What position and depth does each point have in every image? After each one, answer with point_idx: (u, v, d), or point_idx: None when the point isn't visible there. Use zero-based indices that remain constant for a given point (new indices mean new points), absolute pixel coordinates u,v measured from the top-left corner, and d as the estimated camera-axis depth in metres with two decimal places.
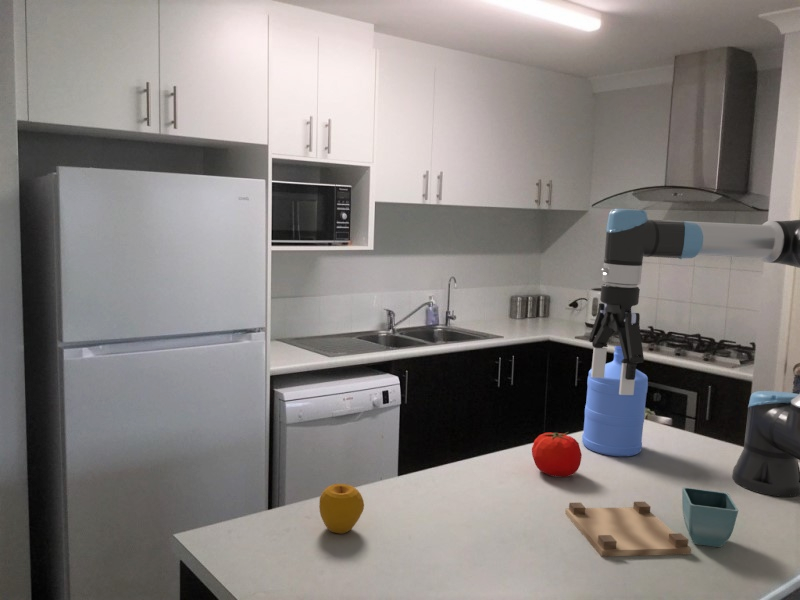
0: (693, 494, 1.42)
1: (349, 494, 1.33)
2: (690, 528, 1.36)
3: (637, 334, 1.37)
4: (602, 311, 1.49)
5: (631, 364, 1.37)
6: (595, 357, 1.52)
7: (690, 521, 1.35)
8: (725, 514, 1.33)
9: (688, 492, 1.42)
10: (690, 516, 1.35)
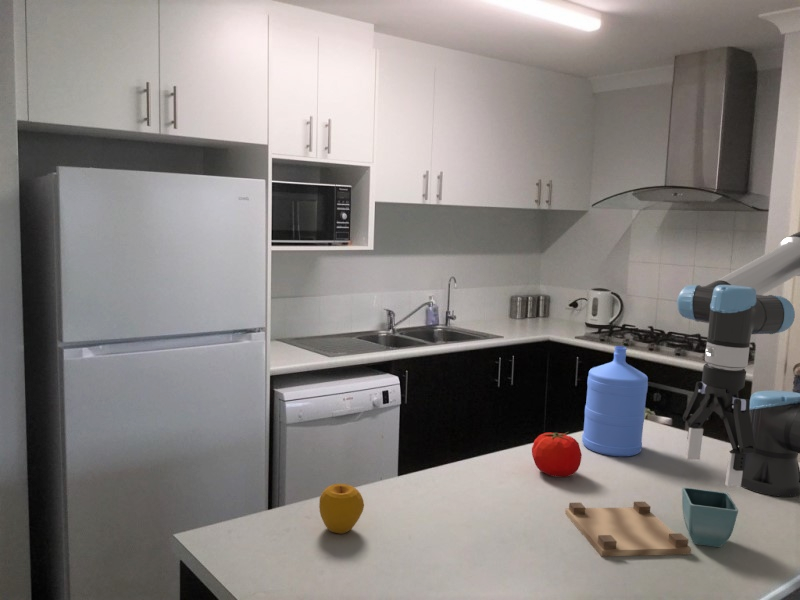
0: (693, 494, 1.42)
1: (349, 494, 1.33)
2: (690, 528, 1.36)
3: (747, 422, 1.28)
4: (700, 390, 1.40)
5: (741, 454, 1.28)
6: (691, 438, 1.42)
7: (690, 521, 1.35)
8: (725, 514, 1.33)
9: (688, 492, 1.42)
10: (690, 516, 1.35)
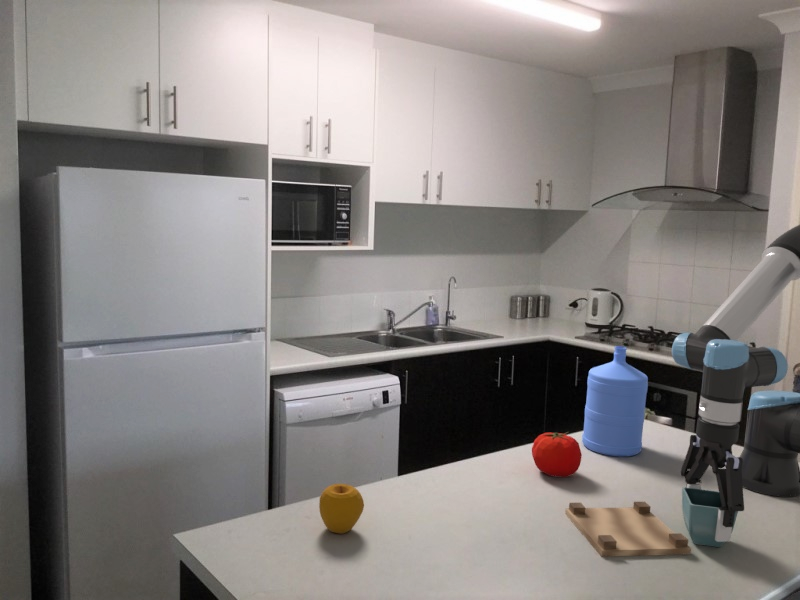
0: (693, 494, 1.42)
1: (349, 494, 1.33)
2: (690, 528, 1.36)
3: (739, 481, 1.30)
4: (695, 443, 1.41)
5: (730, 512, 1.31)
6: None
7: (690, 521, 1.35)
8: None
9: (688, 492, 1.42)
10: (690, 516, 1.35)
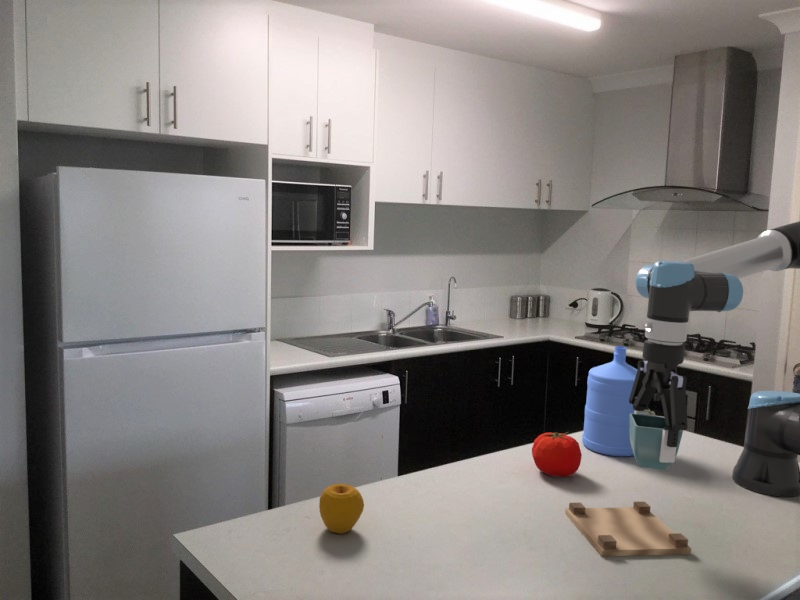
0: (640, 420, 1.41)
1: (349, 494, 1.33)
2: (635, 450, 1.35)
3: (682, 400, 1.29)
4: (642, 369, 1.40)
5: (673, 431, 1.30)
6: None
7: (635, 443, 1.34)
8: None
9: (635, 418, 1.41)
10: (635, 438, 1.34)
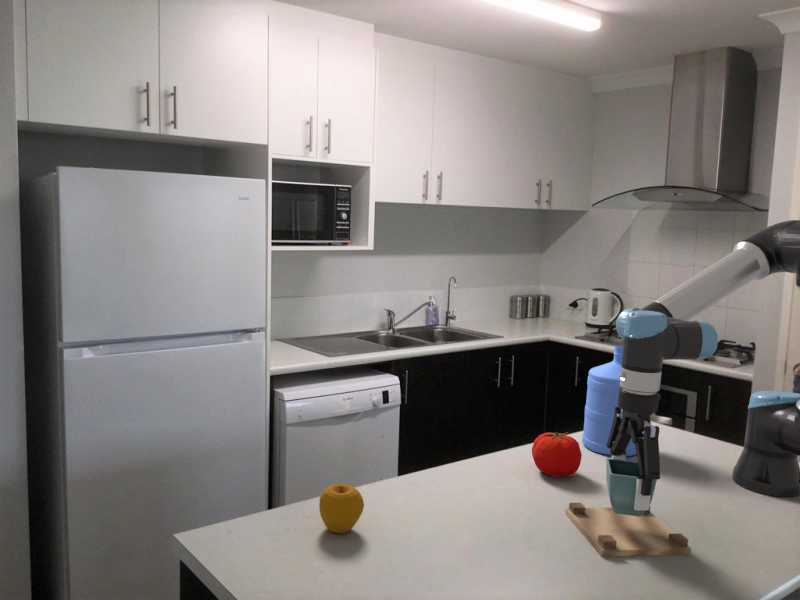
0: (617, 465, 1.43)
1: (349, 494, 1.33)
2: (610, 497, 1.37)
3: (655, 449, 1.31)
4: (619, 415, 1.42)
5: (647, 480, 1.32)
6: None
7: (610, 490, 1.36)
8: None
9: (612, 463, 1.43)
10: (610, 485, 1.36)
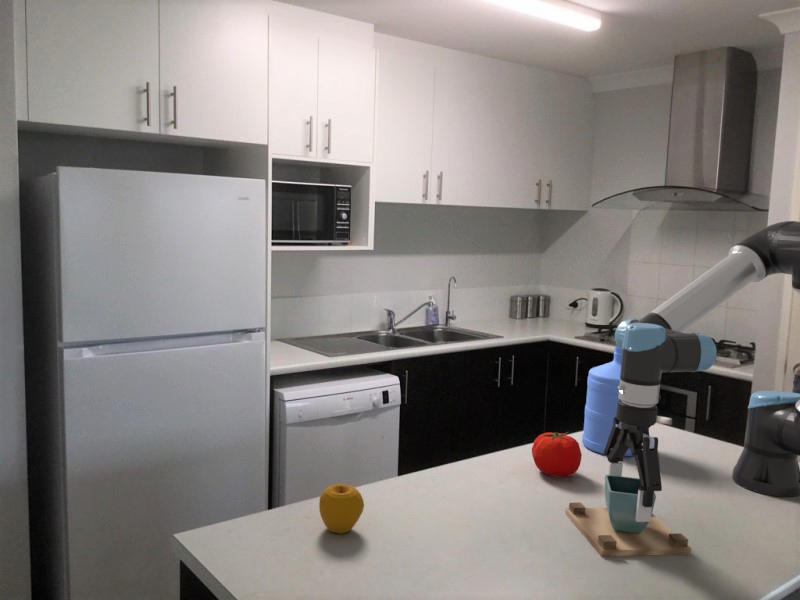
0: (615, 481, 1.44)
1: (349, 494, 1.33)
2: (610, 515, 1.37)
3: (655, 460, 1.31)
4: (617, 425, 1.43)
5: (648, 492, 1.31)
6: (611, 473, 1.45)
7: (610, 508, 1.37)
8: None
9: (610, 479, 1.44)
10: (609, 503, 1.36)
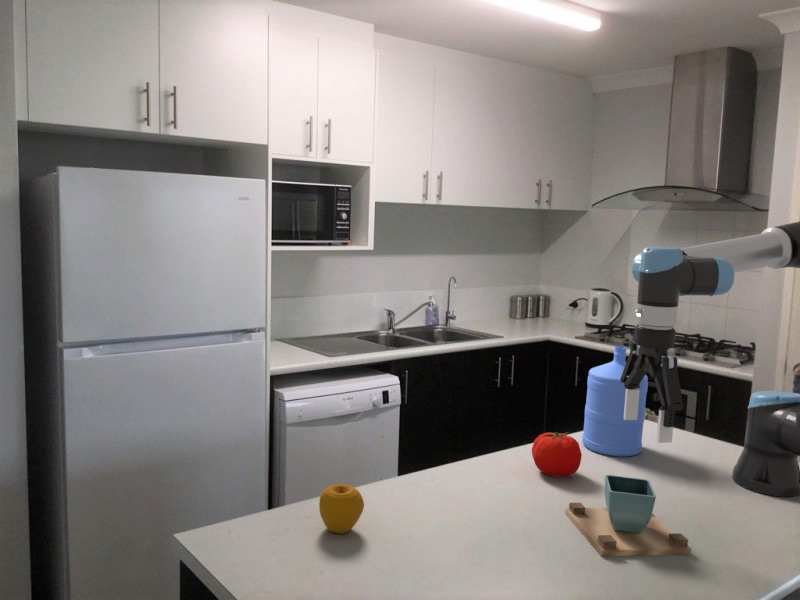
0: (615, 481, 1.44)
1: (349, 494, 1.33)
2: (610, 515, 1.37)
3: (675, 380, 1.30)
4: (635, 352, 1.43)
5: (669, 411, 1.31)
6: (628, 399, 1.45)
7: (610, 508, 1.37)
8: (643, 500, 1.35)
9: (610, 479, 1.44)
10: (610, 503, 1.36)
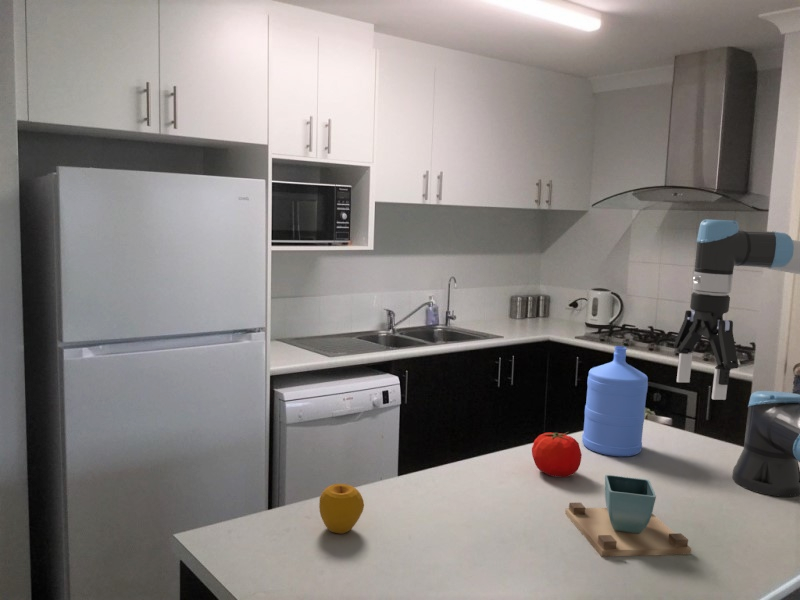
0: (615, 481, 1.44)
1: (349, 494, 1.33)
2: (610, 515, 1.37)
3: (731, 341, 1.41)
4: (689, 318, 1.54)
5: (725, 370, 1.42)
6: (681, 362, 1.56)
7: (610, 508, 1.37)
8: (643, 500, 1.35)
9: (610, 479, 1.44)
10: (610, 503, 1.36)
